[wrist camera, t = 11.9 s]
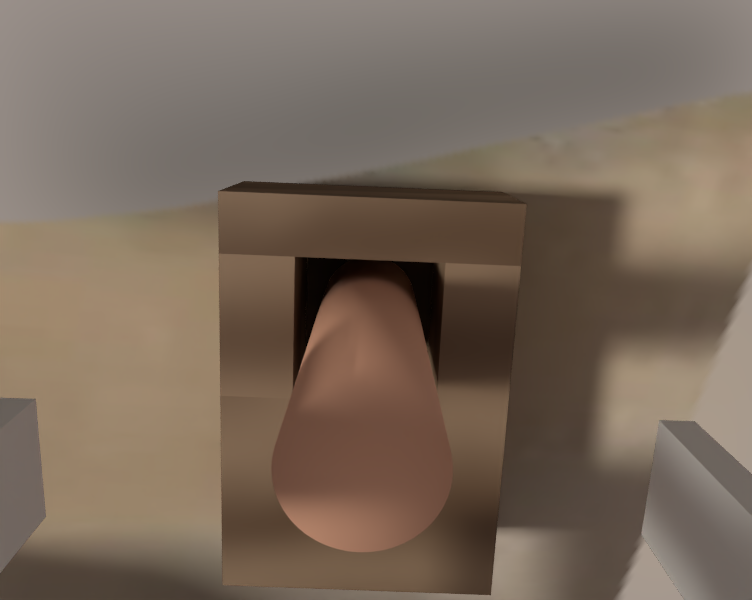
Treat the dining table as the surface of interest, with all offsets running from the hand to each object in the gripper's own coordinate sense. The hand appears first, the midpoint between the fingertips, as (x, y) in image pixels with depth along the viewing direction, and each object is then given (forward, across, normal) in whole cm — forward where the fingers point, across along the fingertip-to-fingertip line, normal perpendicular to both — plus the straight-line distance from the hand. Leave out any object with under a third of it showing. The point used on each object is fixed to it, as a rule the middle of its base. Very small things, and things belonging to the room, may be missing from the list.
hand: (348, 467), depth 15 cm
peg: (+16, 0, -1) cm, 17 cm away
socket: (+16, 0, -4) cm, 17 cm away
